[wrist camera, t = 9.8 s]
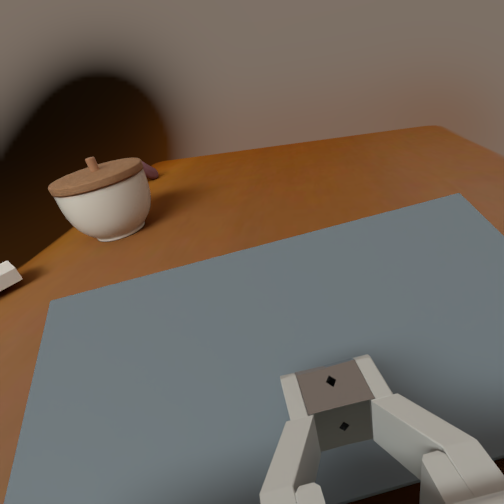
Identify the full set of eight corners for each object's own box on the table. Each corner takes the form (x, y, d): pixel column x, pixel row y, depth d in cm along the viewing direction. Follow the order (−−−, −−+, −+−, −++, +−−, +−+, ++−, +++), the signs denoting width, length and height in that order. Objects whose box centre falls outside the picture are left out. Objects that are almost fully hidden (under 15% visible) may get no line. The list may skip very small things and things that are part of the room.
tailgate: (677, 405, 11) (459, 192, 19) (-20, 606, 11) (50, 300, 19) (630, 422, 13) (447, 221, 21) (27, 597, 12) (73, 321, 20)
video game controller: (120, 192, 78) (99, 171, 73) (127, 178, 80) (108, 156, 75) (155, 188, 74) (136, 165, 69) (161, 173, 77) (144, 150, 71)
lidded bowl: (172, 207, 55) (148, 138, 50) (145, 243, 44) (110, 161, 39) (103, 219, 57) (73, 155, 52) (61, 257, 46) (17, 180, 41)
